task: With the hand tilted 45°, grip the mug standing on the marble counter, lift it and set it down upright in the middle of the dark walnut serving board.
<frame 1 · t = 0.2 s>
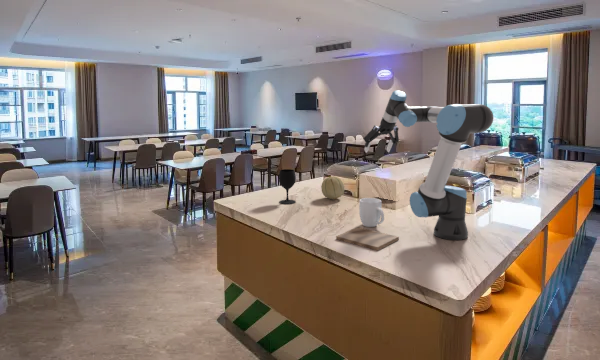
hand: (376, 151, 232), 35 cm above the worktop, tool tilted 35°, fingers open, 13 cm apart
wine glass: (287, 202, 262), on the worktop
serving board: (367, 239, 194), on the worktop
mug: (371, 226, 214), on the worktop
cantaloupe: (332, 199, 270), on the worktop
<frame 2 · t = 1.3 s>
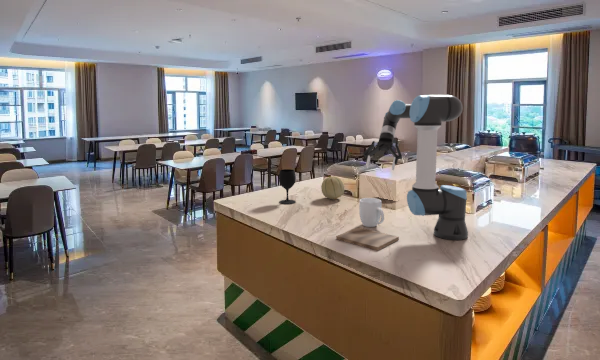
hand: (379, 167, 219), 28 cm above the worktop, tool tilted 45°, fingers open, 13 cm apart
nothing on the worktop moved.
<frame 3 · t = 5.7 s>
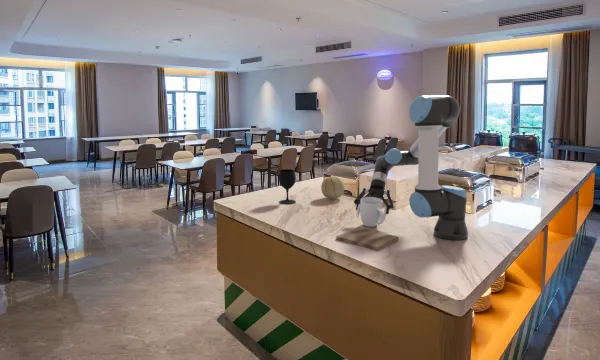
hand: (370, 217, 211), 5 cm above the worktop, tool tilted 45°, fingers open, 13 cm apart
mug: (371, 225, 214), on the worktop, touching gripper
everything else where it was.
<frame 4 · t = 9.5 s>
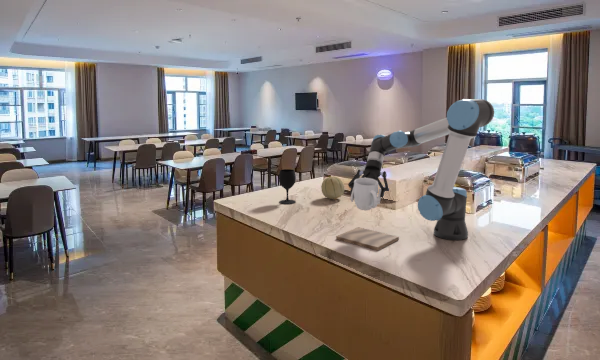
hand: (364, 201, 194), 17 cm above the worktop, tool tilted 45°, fingers closed on mug, 12 cm apart
mug: (365, 209, 197), point 13 cm above the worktop, touching gripper
everything else where it was.
when the fingers open (7 cm above the worktop, at t = 13.0 s): mug drops 2 cm, resting on serving board.
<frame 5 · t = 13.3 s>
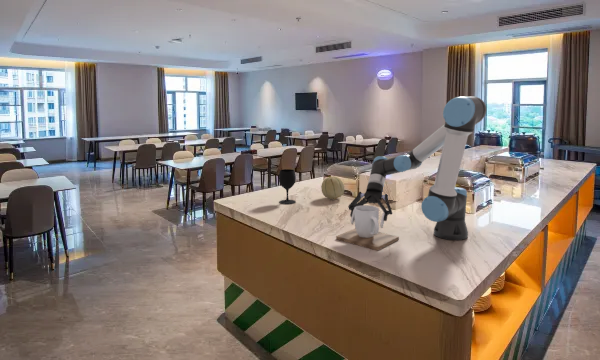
hand: (366, 224, 190), 8 cm above the worktop, tool tilted 45°, fingers open, 13 cm apart
mug: (367, 236, 194), point 1 cm above the worktop, touching serving board
everything else where it was.
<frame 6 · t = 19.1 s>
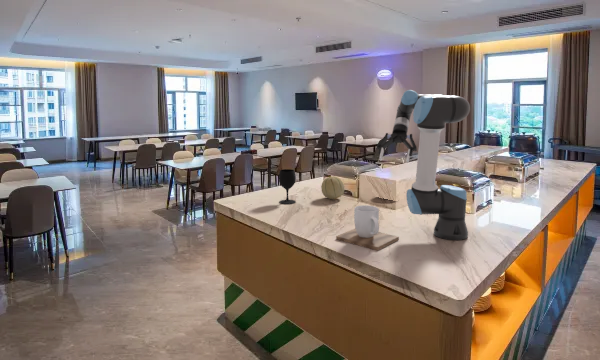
hand: (393, 160, 213), 33 cm above the worktop, tool tilted 45°, fingers open, 13 cm apart
nothing on the worktop moved.
at the end: mug inside the target area on the serving board (0.1 cm from its centre), point 1.3 cm above the serving board's base; mug tilted 0°; the gripper is holding nothing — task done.
